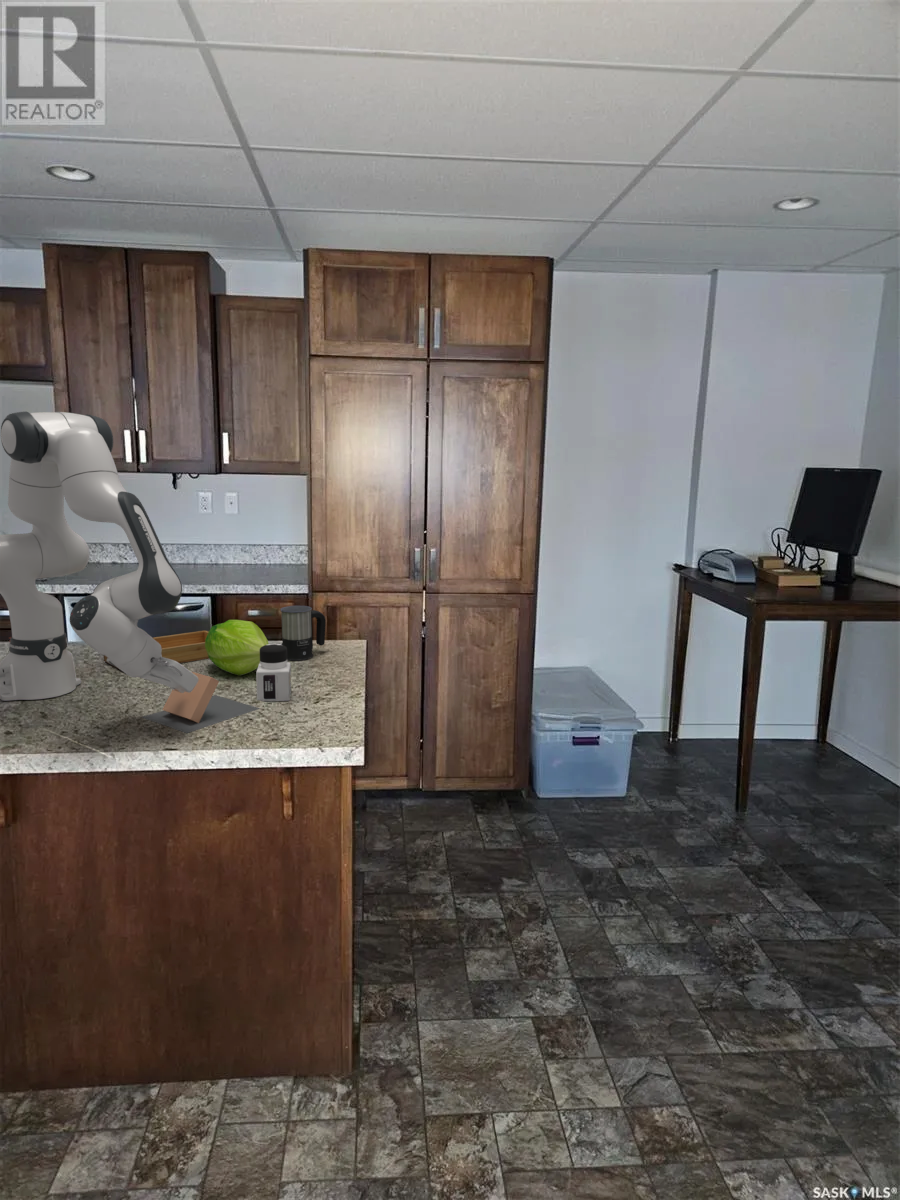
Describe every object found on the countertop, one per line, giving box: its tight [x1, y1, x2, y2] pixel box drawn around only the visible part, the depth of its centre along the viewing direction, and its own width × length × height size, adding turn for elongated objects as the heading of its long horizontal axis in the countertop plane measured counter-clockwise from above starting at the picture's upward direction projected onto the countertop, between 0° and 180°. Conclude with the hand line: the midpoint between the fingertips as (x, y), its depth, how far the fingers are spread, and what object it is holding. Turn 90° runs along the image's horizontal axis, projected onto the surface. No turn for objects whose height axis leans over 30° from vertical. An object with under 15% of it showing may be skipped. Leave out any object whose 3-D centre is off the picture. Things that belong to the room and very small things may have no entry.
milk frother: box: [280, 605, 327, 662], centre depth 219 cm, size 14×16×15 cm
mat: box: [141, 694, 261, 734], centre depth 167 cm, size 16×20×1 cm
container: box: [255, 643, 292, 703], centre depth 179 cm, size 8×8×13 cm
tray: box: [103, 630, 210, 670], centre depth 212 cm, size 31×15×6 cm, turn 135°
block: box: [161, 671, 220, 723], centre depth 163 cm, size 10×3×10 cm
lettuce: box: [205, 619, 269, 676], centre depth 200 cm, size 15×23×16 cm
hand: (181, 689), depth 161 cm, fingers closed
